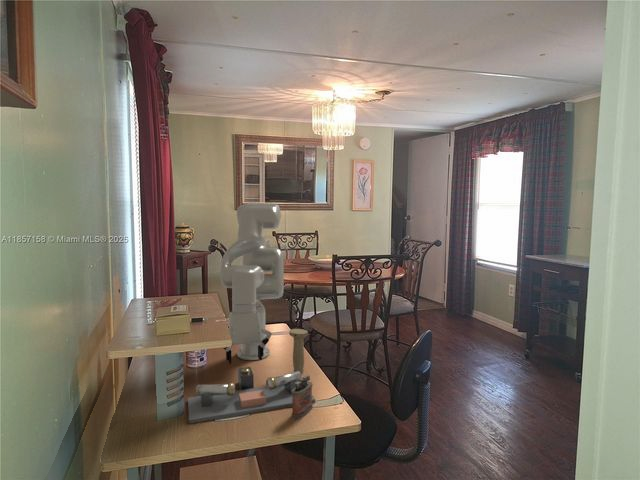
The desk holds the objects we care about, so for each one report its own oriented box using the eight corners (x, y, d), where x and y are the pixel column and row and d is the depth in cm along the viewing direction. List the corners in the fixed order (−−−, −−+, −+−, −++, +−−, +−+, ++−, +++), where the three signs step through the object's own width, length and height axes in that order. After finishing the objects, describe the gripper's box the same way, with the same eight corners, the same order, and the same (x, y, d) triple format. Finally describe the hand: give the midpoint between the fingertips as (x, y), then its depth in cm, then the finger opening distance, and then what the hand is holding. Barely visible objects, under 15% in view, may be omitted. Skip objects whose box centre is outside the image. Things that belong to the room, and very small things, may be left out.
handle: (303, 377, 140) (303, 334, 139) (287, 374, 143) (286, 332, 141) (309, 372, 145) (309, 330, 143) (293, 368, 147) (293, 328, 146)
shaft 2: (271, 402, 123) (271, 381, 122) (265, 397, 126) (265, 376, 126) (302, 393, 129) (302, 372, 128) (295, 388, 132) (295, 368, 132)
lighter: (298, 420, 114) (298, 385, 113) (289, 416, 115) (288, 382, 114) (315, 407, 120) (315, 374, 119) (305, 404, 122) (305, 372, 121)
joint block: (241, 391, 130) (240, 374, 130) (238, 382, 136) (237, 366, 136) (253, 389, 132) (253, 372, 131) (250, 381, 138) (250, 365, 137)
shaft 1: (235, 402, 123) (235, 380, 123) (233, 409, 119) (233, 386, 119) (198, 403, 123) (198, 381, 122) (195, 410, 119) (195, 387, 118)
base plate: (188, 401, 124) (187, 391, 124) (302, 383, 136) (302, 375, 135) (189, 423, 112) (188, 413, 111) (315, 402, 123) (315, 392, 123)
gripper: (268, 303, 137) (269, 353, 138) (215, 307, 132) (216, 359, 133) (273, 308, 130) (274, 361, 131) (217, 312, 125) (218, 367, 126)
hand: (245, 360), depth 132 cm, fingers open, 9 cm apart
